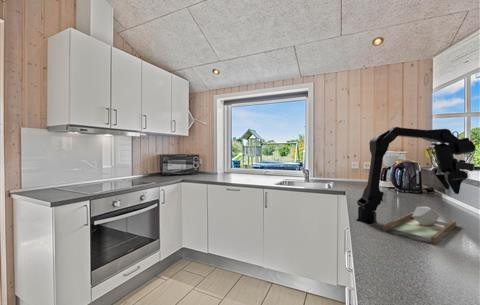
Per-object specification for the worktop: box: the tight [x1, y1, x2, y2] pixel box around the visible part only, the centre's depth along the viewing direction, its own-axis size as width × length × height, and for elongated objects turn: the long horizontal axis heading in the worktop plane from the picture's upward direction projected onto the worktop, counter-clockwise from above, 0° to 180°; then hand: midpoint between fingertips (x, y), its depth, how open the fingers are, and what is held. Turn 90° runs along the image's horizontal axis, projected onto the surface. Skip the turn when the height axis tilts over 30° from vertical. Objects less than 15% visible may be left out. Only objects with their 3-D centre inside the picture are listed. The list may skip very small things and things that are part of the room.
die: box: [412, 206, 440, 226], centre depth 95 cm, size 8×9×10 cm
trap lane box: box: [383, 211, 457, 246], centre depth 92 cm, size 16×34×2 cm, turn 126°
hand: (452, 191), depth 95 cm, fingers open, 9 cm apart
